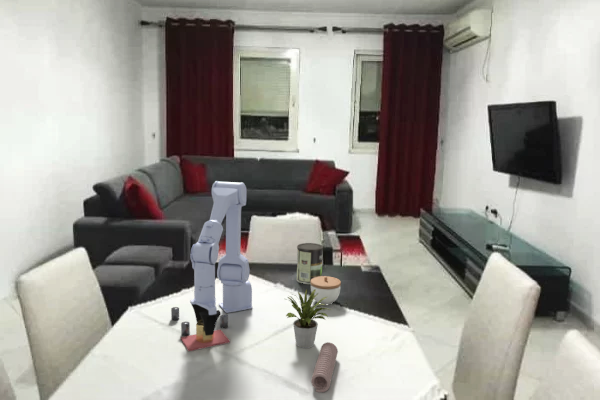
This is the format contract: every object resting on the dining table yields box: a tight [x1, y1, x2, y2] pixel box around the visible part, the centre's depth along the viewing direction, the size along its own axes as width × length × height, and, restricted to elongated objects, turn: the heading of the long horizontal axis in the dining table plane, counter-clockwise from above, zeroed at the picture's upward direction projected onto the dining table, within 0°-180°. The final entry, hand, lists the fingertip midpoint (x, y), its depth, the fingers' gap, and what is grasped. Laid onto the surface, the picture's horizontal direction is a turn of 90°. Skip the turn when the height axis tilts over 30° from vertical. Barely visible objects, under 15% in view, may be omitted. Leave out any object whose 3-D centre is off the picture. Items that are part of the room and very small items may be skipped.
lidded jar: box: [310, 275, 342, 305], centre depth 168 cm, size 11×11×9 cm
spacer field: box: [170, 306, 229, 337], centre depth 149 cm, size 14×14×4 cm
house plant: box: [285, 288, 332, 349], centre depth 135 cm, size 14×14×16 cm
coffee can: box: [296, 242, 324, 285], centre depth 190 cm, size 10×10×14 cm
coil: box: [310, 342, 339, 393], centre depth 122 cm, size 5×5×18 cm
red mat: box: [180, 328, 231, 352], centre depth 138 cm, size 12×8×1 cm, turn 119°
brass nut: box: [195, 320, 214, 343], centre depth 137 cm, size 5×4×5 cm
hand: (205, 329), depth 137 cm, fingers open, 7 cm apart
